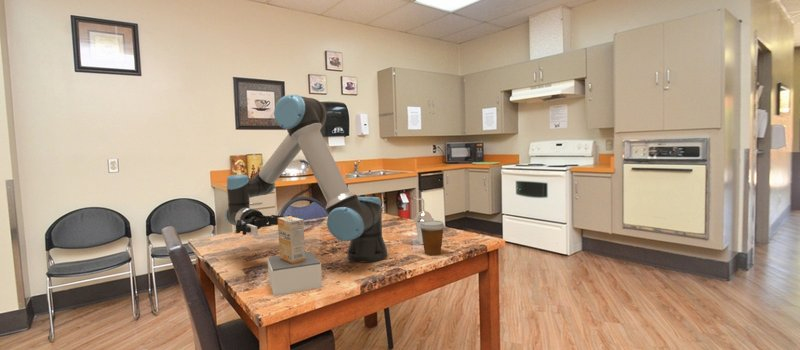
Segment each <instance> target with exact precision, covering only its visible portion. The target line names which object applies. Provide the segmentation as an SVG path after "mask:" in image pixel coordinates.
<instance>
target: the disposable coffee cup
mask: <svg viewBox="0 0 800 350" xmlns="http://www.w3.org/2000/svg"><path fill="white" fill-rule="evenodd" d="M420 228H421V232H422V239H423V245H422V246H423V250H424V251H423V252H424V254H425V255H426V256H438V255H440V254H442V245H443V236H444V235H443V234H444V229H445V225H444V222H443V221H441V220H434V219H433V220H430V221H423V222H421V225H420Z"/></svg>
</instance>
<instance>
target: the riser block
mask: <svg viewBox="0 0 800 350" xmlns="http://www.w3.org/2000/svg"><path fill="white" fill-rule="evenodd" d="M267 272H268V282H269V286H270V289H271V292H272V295H273V297H275V296H283V295H286V294H293V293H298V292H303V291H310V290H315V289H320V288H323V279H322V278H323V277H322V274H323V273H322V264H321V262H320V261H319V259H318V258H317V257H316V255H315V254H314V253H313V252H312V251H311V250H310V251H305V261H302V262H298V263H295V264H292V263H290V262H287V261H285V260H282V259H280V255H276V256H268V257H267Z"/></svg>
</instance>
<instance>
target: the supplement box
mask: <svg viewBox="0 0 800 350" xmlns="http://www.w3.org/2000/svg"><path fill="white" fill-rule="evenodd" d="M286 216H287V217H280V218H278V225H277V233H278V245H279V246H278V253H279V256H280V259H282V260H285V261H287V262H290V263H292V264H295V263H298V262H302V261H305V252H306V247H305V223H304V219H303V218H300V217H295V216H294V217H292V216H293V215H290V216H288V215H286Z"/></svg>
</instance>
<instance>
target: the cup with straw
mask: <svg viewBox="0 0 800 350" xmlns="http://www.w3.org/2000/svg"><path fill="white" fill-rule="evenodd" d="M411 200H417V201H422V210H421V211H419V212H417V214H416V215H415V217H414V219H413V222H415V227H416V231H417V239H418V244H419V243H420V244H419V245H422V244H423V239H422V232H421V228H420V225H421V222H423V221H430V220H434V218H433V216H432V215H431V213H430V212H428V211H426V210H425V199H424V198H421V197H412V198H411Z"/></svg>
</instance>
